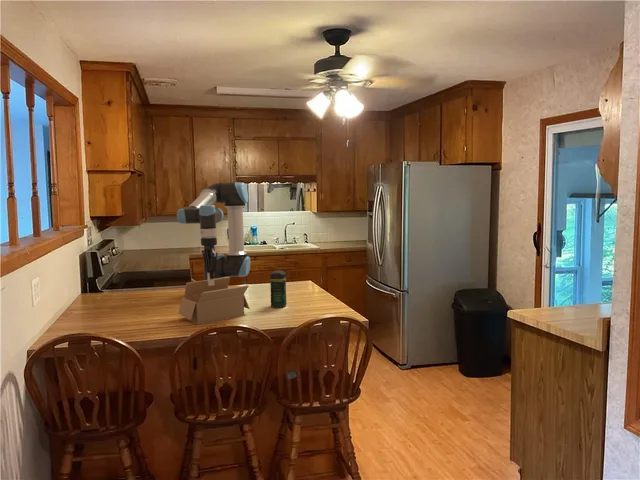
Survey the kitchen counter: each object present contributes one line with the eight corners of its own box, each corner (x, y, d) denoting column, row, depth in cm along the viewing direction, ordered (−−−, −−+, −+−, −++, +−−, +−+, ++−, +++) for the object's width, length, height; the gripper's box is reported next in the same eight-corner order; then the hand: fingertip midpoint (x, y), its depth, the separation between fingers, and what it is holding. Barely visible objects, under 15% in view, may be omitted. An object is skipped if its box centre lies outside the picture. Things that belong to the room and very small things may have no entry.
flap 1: (183, 295, 247) (186, 282, 243) (226, 288, 261) (229, 276, 257) (184, 296, 247) (186, 283, 243) (227, 289, 260) (230, 277, 256)
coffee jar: (284, 308, 261) (283, 272, 259) (269, 308, 262) (268, 272, 260) (288, 303, 271) (287, 269, 269) (273, 303, 272) (272, 269, 270)
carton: (177, 319, 245) (176, 298, 244) (235, 308, 264) (234, 288, 262) (191, 326, 233) (189, 304, 232) (250, 314, 251) (249, 293, 250)
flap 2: (198, 301, 233) (203, 292, 228) (242, 294, 247) (248, 285, 241) (198, 302, 233) (203, 293, 228) (243, 295, 247) (248, 286, 241)
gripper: (195, 236, 249) (198, 284, 251) (207, 238, 238) (209, 288, 241) (210, 235, 253) (212, 282, 256) (221, 237, 243) (224, 286, 245)
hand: (211, 285), depth 248 cm, fingers closed
